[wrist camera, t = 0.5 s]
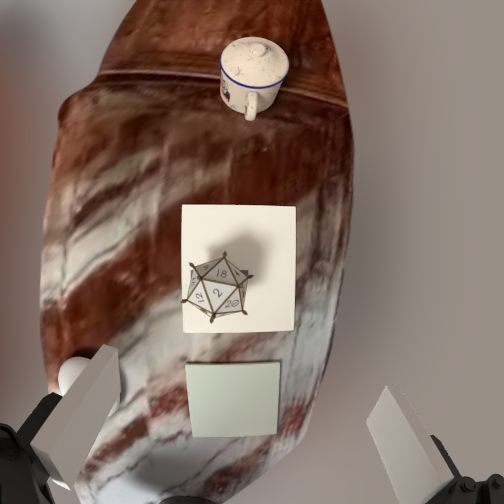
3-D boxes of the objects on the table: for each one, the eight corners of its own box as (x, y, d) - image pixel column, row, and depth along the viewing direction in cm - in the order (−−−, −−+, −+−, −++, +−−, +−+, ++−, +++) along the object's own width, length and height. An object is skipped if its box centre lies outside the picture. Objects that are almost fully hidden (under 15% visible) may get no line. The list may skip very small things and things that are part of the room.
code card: (293, 329, 41) (293, 330, 41) (183, 332, 39) (183, 332, 39) (295, 206, 41) (295, 206, 41) (182, 205, 39) (182, 204, 39)
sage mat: (275, 431, 41) (276, 433, 41) (192, 434, 40) (192, 436, 39) (279, 361, 41) (280, 362, 40) (185, 363, 39) (185, 365, 39)
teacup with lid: (220, 68, 39) (223, 22, 27) (276, 72, 40) (293, 29, 28) (215, 131, 39) (216, 93, 28) (277, 135, 40) (297, 99, 29)
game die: (227, 272, 43) (275, 262, 36) (217, 327, 40) (266, 329, 33) (176, 252, 38) (218, 235, 31) (162, 313, 35) (203, 313, 28)
